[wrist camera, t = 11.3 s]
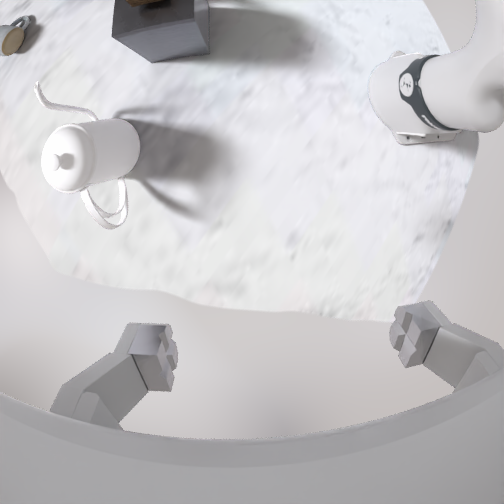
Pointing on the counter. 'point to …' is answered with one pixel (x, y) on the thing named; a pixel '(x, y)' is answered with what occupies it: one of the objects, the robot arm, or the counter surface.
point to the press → (163, 28)
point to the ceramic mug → (12, 36)
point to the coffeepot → (90, 157)
